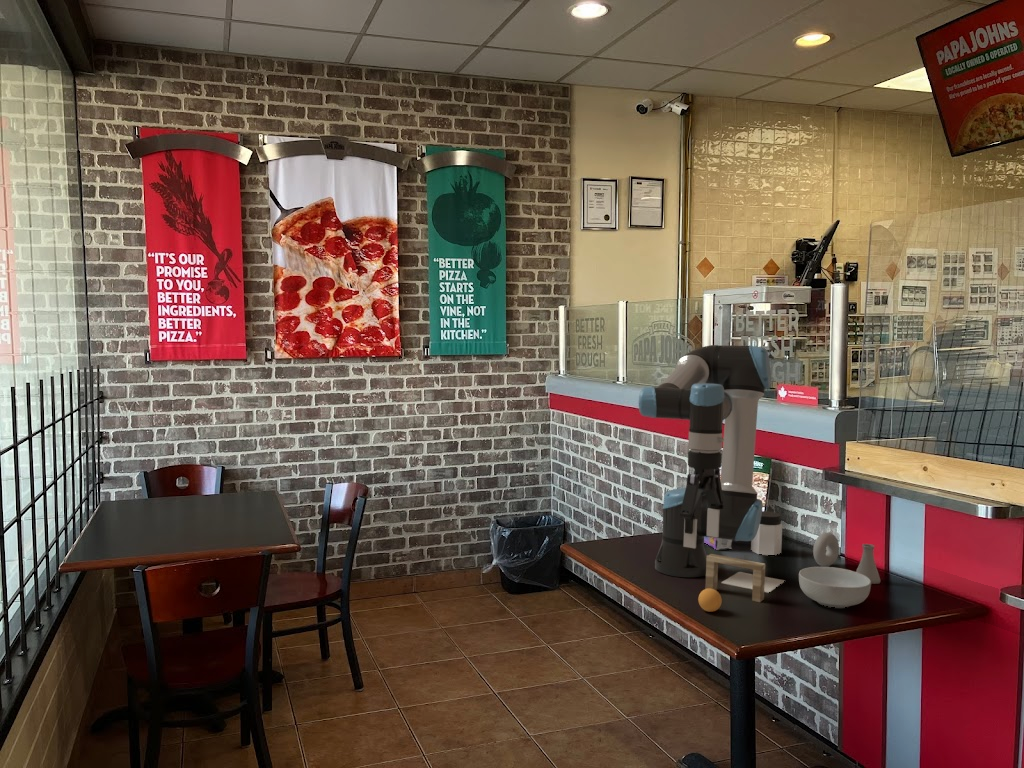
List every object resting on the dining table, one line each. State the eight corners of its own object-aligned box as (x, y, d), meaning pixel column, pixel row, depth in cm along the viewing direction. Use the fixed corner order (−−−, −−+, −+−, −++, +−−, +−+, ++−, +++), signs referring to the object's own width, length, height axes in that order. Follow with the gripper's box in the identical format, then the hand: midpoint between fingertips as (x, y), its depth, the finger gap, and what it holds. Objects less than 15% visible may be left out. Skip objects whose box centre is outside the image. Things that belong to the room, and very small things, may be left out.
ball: (694, 611, 200) (695, 589, 200) (703, 605, 205) (704, 584, 205) (715, 616, 197) (716, 594, 197) (724, 610, 202) (725, 588, 201)
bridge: (759, 602, 209) (761, 566, 208) (705, 590, 217) (706, 556, 216) (763, 599, 211) (765, 563, 210) (709, 587, 219) (711, 553, 219)
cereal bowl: (787, 603, 208) (788, 575, 208) (811, 588, 221) (812, 562, 220) (857, 619, 197) (858, 590, 197) (878, 603, 210) (879, 575, 210)
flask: (883, 585, 225) (885, 549, 224) (855, 583, 226) (857, 547, 225) (877, 578, 232) (879, 542, 231) (850, 576, 233) (851, 541, 233)
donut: (830, 562, 246) (832, 529, 246) (840, 565, 244) (842, 531, 243) (809, 567, 241) (811, 533, 240) (820, 570, 238) (821, 536, 237)
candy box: (732, 550, 258) (734, 498, 257) (715, 551, 257) (717, 498, 256) (713, 539, 272) (714, 489, 271) (696, 539, 270) (698, 489, 269)
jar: (770, 557, 251) (772, 518, 250) (746, 552, 256) (748, 513, 256) (785, 552, 257) (786, 514, 256) (761, 547, 263) (762, 509, 262)
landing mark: (721, 583, 224) (721, 582, 224) (739, 572, 234) (739, 571, 234) (769, 592, 216) (769, 592, 216) (785, 581, 227) (785, 580, 227)
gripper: (699, 457, 179) (695, 555, 180) (739, 447, 199) (736, 534, 200) (667, 454, 183) (663, 549, 184) (709, 444, 203) (706, 529, 205)
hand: (701, 541), depth 192 cm, fingers open, 13 cm apart
